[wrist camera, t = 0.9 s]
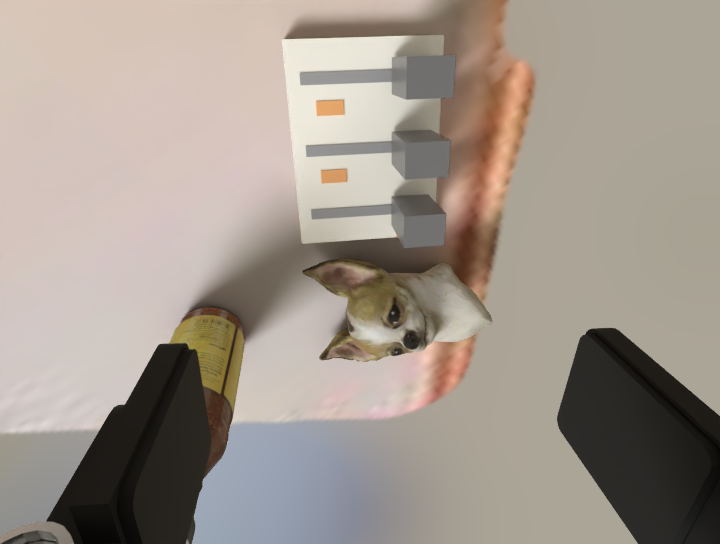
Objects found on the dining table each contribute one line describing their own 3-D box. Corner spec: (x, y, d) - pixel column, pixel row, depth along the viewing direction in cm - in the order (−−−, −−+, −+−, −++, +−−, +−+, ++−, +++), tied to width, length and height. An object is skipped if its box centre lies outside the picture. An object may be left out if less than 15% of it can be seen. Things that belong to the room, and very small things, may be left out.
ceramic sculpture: (498, 386, 35) (318, 408, 36) (469, 327, 43) (321, 346, 43) (502, 271, 31) (295, 298, 31) (468, 229, 38) (303, 250, 39)
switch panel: (282, 40, 30) (281, 39, 29) (438, 35, 31) (444, 34, 30) (301, 237, 37) (301, 244, 36) (429, 228, 38) (434, 234, 37)
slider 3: (391, 196, 34) (404, 216, 30) (428, 194, 35) (446, 213, 30) (391, 224, 35) (403, 248, 31) (426, 222, 36) (444, 245, 31)
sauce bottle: (163, 323, 39) (46, 539, 22) (219, 291, 38) (146, 488, 21) (209, 371, 42) (138, 596, 24) (262, 341, 41) (229, 552, 24)
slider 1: (391, 57, 30) (406, 56, 25) (433, 55, 30) (455, 54, 26) (391, 94, 31) (406, 99, 27) (432, 92, 31) (453, 97, 27)
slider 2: (391, 131, 32) (405, 143, 28) (430, 129, 32) (450, 140, 28) (391, 163, 33) (404, 179, 29) (429, 161, 33) (448, 177, 29)
